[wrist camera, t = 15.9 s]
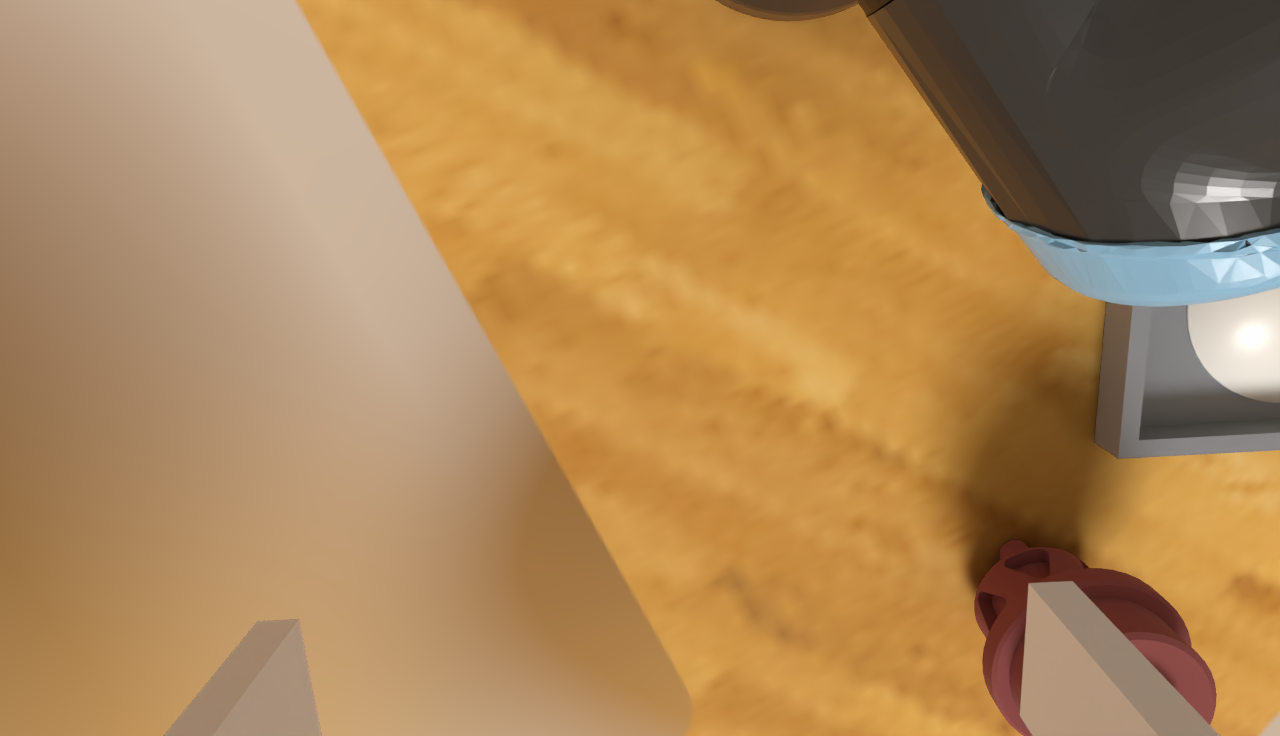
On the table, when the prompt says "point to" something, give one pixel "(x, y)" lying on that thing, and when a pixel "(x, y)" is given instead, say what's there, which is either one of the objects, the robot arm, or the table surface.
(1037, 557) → the mechanical component
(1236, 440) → the housing tray
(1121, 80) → the robot arm
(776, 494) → the table surface
